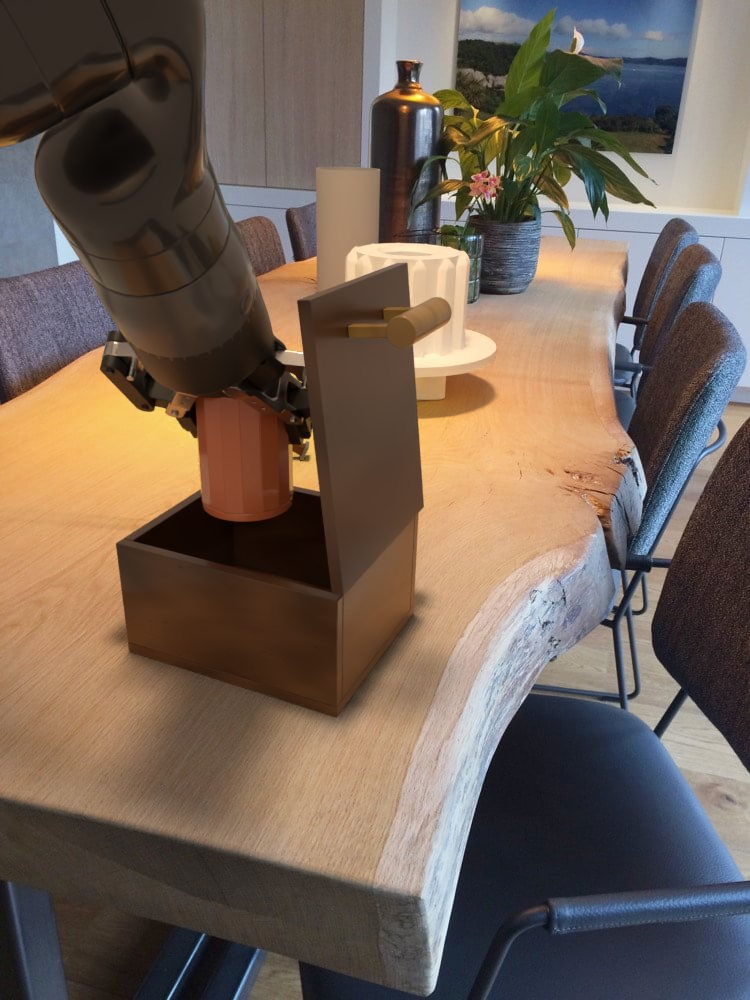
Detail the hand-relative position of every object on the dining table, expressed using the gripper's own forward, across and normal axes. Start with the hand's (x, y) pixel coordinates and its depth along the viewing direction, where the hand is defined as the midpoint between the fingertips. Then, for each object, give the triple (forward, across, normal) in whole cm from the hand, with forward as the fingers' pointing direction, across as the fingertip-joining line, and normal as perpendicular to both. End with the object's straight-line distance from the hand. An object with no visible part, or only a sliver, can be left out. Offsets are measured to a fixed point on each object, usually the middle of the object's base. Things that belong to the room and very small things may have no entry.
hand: (250, 429), depth 58 cm
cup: (+2, 0, +5) cm, 5 cm away
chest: (+9, -2, +12) cm, 15 cm away
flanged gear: (+52, -6, -31) cm, 61 cm away
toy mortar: (+33, +6, -11) cm, 35 cm away
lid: (-5, -9, +1) cm, 10 cm away
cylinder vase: (+95, +11, -74) cm, 120 cm away
